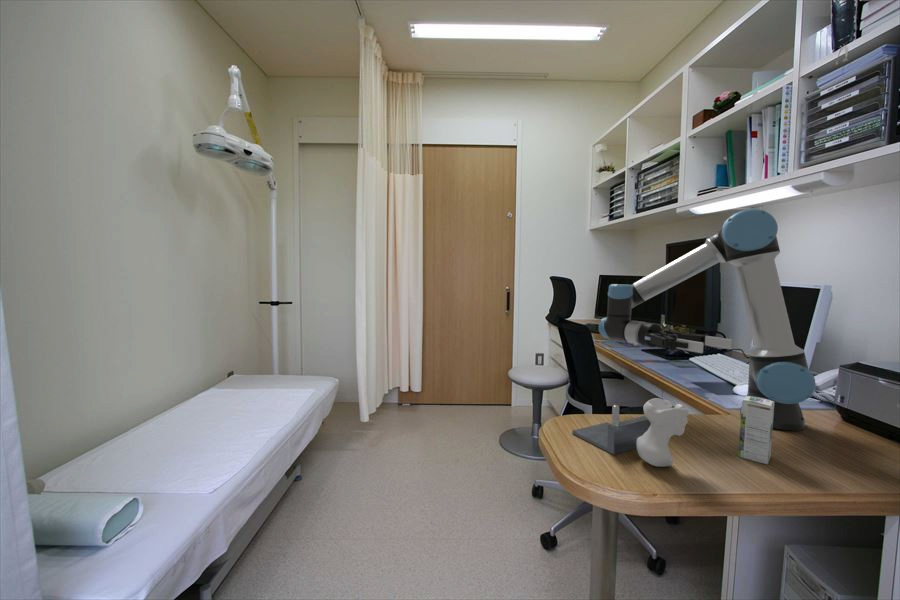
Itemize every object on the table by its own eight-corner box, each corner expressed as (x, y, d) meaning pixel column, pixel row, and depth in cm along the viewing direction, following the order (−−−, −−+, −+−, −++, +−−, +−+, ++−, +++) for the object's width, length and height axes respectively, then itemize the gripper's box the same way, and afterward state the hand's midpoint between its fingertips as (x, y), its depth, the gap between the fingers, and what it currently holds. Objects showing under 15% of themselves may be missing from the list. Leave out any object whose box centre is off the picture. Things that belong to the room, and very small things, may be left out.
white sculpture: (628, 455, 90) (629, 396, 89) (671, 454, 91) (673, 395, 90) (652, 476, 80) (654, 410, 80) (700, 475, 81) (703, 409, 80)
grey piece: (607, 425, 109) (608, 386, 108) (650, 444, 96) (651, 400, 96) (572, 433, 103) (573, 392, 102) (613, 455, 90) (615, 408, 90)
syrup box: (741, 449, 93) (743, 394, 93) (771, 457, 89) (774, 400, 89) (738, 457, 89) (740, 399, 89) (769, 465, 85) (772, 405, 85)
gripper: (667, 343, 121) (741, 356, 102) (616, 348, 110) (688, 364, 91) (669, 320, 121) (743, 330, 102) (617, 324, 110) (690, 334, 91)
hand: (717, 346), depth 97 cm, fingers open, 13 cm apart
